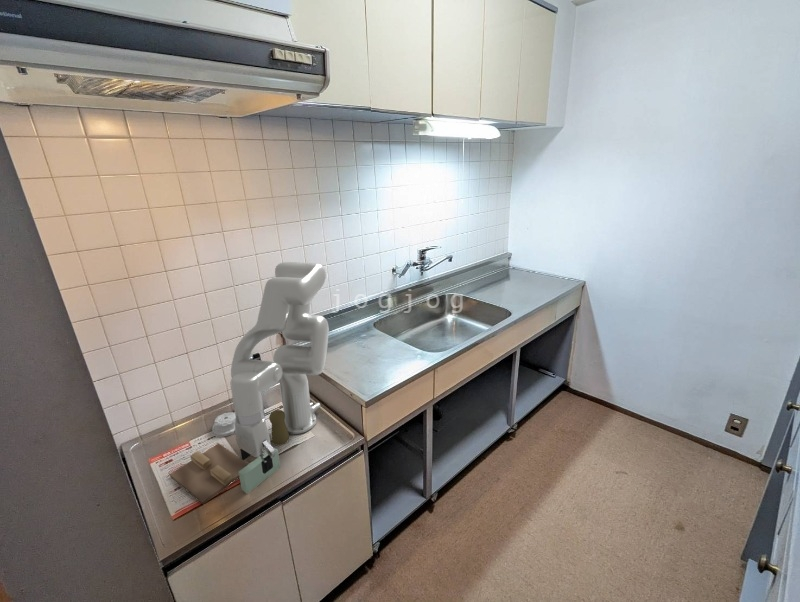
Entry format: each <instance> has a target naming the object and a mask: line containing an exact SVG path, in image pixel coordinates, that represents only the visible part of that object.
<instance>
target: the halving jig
mask: <svg viewBox="0 0 800 602" xmlns="http://www.w3.org/2000/svg"><path fill="white" fill-rule="evenodd" d="M189 456H190V461H189V462H187V463H185V464H184V465H182V466H181V467H179V468H178V469H176V470H174V471H173V472H171V473H170V474H169V476H170V478H171V479H172V480H173V481H174V482H176V483H177V484H178V485H180V487H182V488H183V489H184V490H186V491H187V492H188V493H189V494H190V495H191V496H193V497H194V499H196V498H197V499H198V500H197V499H196V500H197V501H199V502H200V503H201V504H202V505H203V506H204V505H205V504H206V503H207V502H209V501H210V500H212V499H213V498H214V497H215V496H217V495H218V494H220V493H221V492H223V490H225V489H227V488H228V487H229V486H230V485H231V484H232V483H231V482H233V481H234V480H235V481H237V480H238V479H240V477H239V471H240V470H242V469H243V468H244V467H246V466H247V465H248V464H250V463H249V462H248V461H246V459H245V460H242V457H241V456H239V455H238V454H236V453H234V452H233V451H232V450H229V449H228V448H226V447H225V446H224V445H222V444H220V443H217V444H214V445H213V446H212V447H211V448H209V449H208V450H205V451H204V452H201V451H199V450H196V451H195V452H194V453H192V454H190V455H189ZM237 478H238V479H237ZM236 479H237V480H236ZM235 481H234V482H235ZM234 482H233V483H234ZM230 483H231V484H230ZM229 484H230V485H229ZM228 485H229V486H228Z"/></svg>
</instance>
